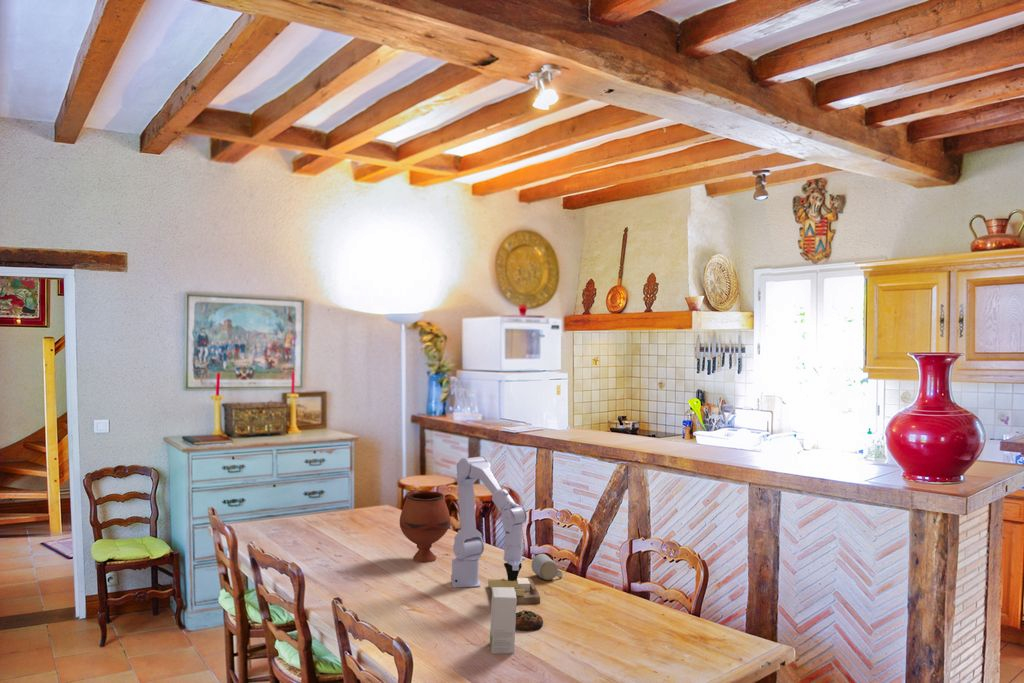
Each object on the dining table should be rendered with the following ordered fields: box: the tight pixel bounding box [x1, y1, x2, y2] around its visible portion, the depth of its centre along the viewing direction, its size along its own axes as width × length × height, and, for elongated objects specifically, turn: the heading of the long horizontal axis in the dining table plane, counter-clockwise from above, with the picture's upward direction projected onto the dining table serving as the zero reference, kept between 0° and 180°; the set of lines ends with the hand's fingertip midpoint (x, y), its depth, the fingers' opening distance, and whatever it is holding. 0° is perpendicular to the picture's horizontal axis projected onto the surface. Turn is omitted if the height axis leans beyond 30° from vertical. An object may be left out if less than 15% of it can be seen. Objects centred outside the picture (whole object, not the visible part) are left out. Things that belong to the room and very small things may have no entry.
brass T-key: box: [487, 578, 525, 595], centre depth 246 cm, size 12×2×5 cm, turn 92°
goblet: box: [399, 491, 451, 564], centre depth 292 cm, size 19×19×25 cm
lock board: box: [488, 577, 541, 605], centre depth 254 cm, size 15×18×4 cm
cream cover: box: [506, 577, 530, 591], centre depth 254 cm, size 7×6×2 cm
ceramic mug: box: [530, 553, 564, 581], centre depth 273 cm, size 11×8×8 cm
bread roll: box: [515, 609, 544, 632], centre depth 227 cm, size 11×11×5 cm
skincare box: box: [489, 587, 517, 655], centre depth 209 cm, size 8×7×16 cm
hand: (512, 585), depth 247 cm, fingers closed, pressing on brass T-key
